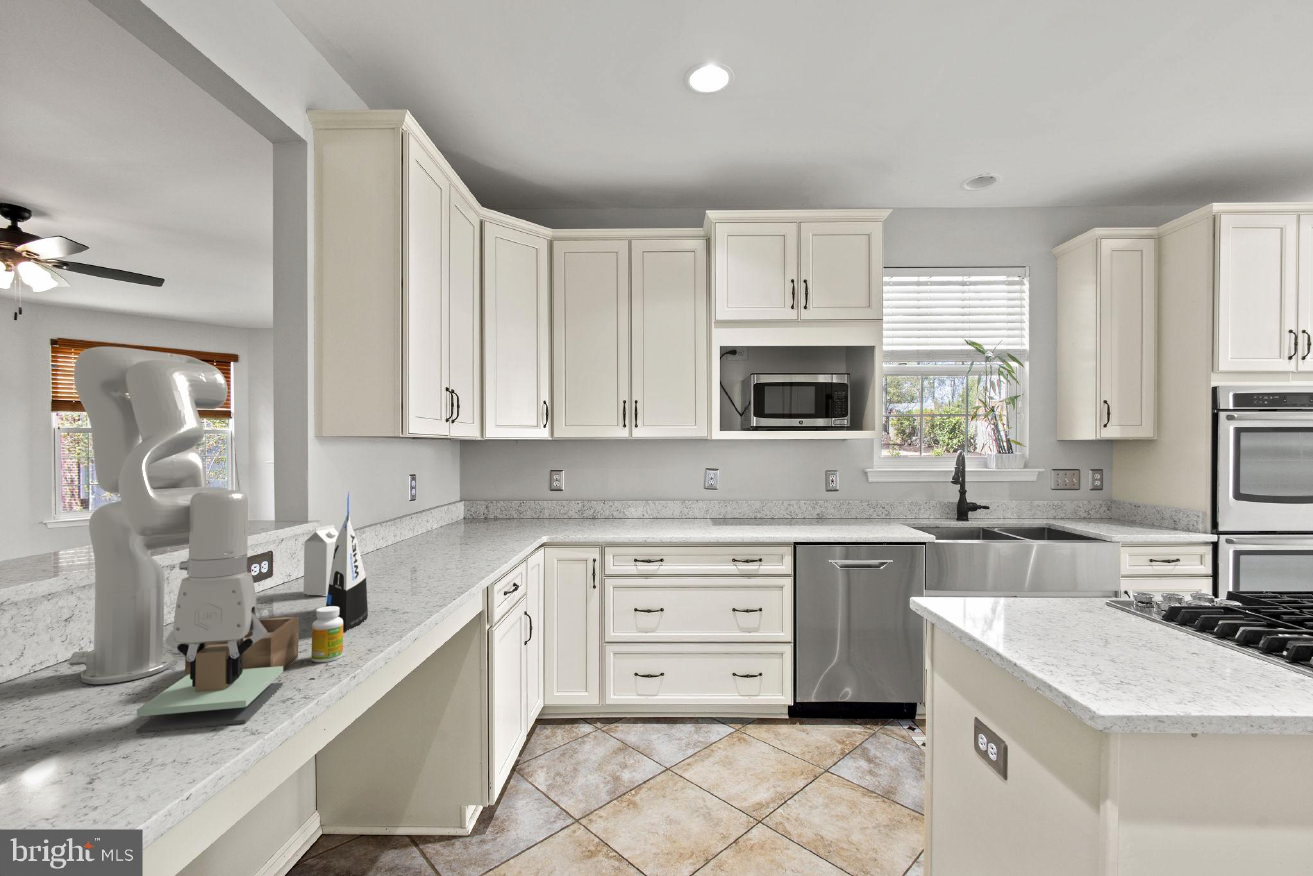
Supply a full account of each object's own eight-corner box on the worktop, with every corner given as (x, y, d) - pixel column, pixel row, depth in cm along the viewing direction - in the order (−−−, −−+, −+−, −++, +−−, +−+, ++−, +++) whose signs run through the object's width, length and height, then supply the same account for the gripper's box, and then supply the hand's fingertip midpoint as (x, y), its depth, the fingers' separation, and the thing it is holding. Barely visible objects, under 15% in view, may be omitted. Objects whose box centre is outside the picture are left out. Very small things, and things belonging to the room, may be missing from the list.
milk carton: (303, 595, 161) (304, 527, 161) (321, 589, 168) (323, 524, 168) (325, 597, 160) (327, 528, 160) (343, 590, 167) (344, 525, 167)
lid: (136, 716, 84) (137, 668, 84) (190, 678, 98) (191, 637, 98) (245, 707, 87) (246, 660, 87) (283, 671, 101) (283, 631, 101)
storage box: (184, 690, 99) (185, 643, 99) (222, 662, 112) (223, 620, 112) (270, 683, 102) (270, 638, 102) (298, 657, 114) (298, 616, 115)
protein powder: (367, 603, 154) (368, 490, 154) (369, 629, 132) (370, 498, 133) (326, 608, 149) (328, 491, 150) (321, 635, 128) (323, 499, 128)
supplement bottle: (328, 664, 111) (329, 613, 111) (304, 661, 112) (305, 611, 112) (348, 654, 116) (349, 605, 117) (325, 652, 117) (326, 604, 118)
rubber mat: (136, 733, 84) (136, 729, 84) (189, 693, 98) (189, 689, 98) (245, 723, 87) (245, 719, 87) (282, 685, 101) (282, 682, 101)
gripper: (142, 574, 87) (140, 696, 87) (267, 569, 91) (265, 686, 91) (171, 564, 95) (169, 677, 94) (286, 560, 98) (284, 669, 98)
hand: (216, 680), depth 93 cm, fingers closed on lid, 4 cm apart
